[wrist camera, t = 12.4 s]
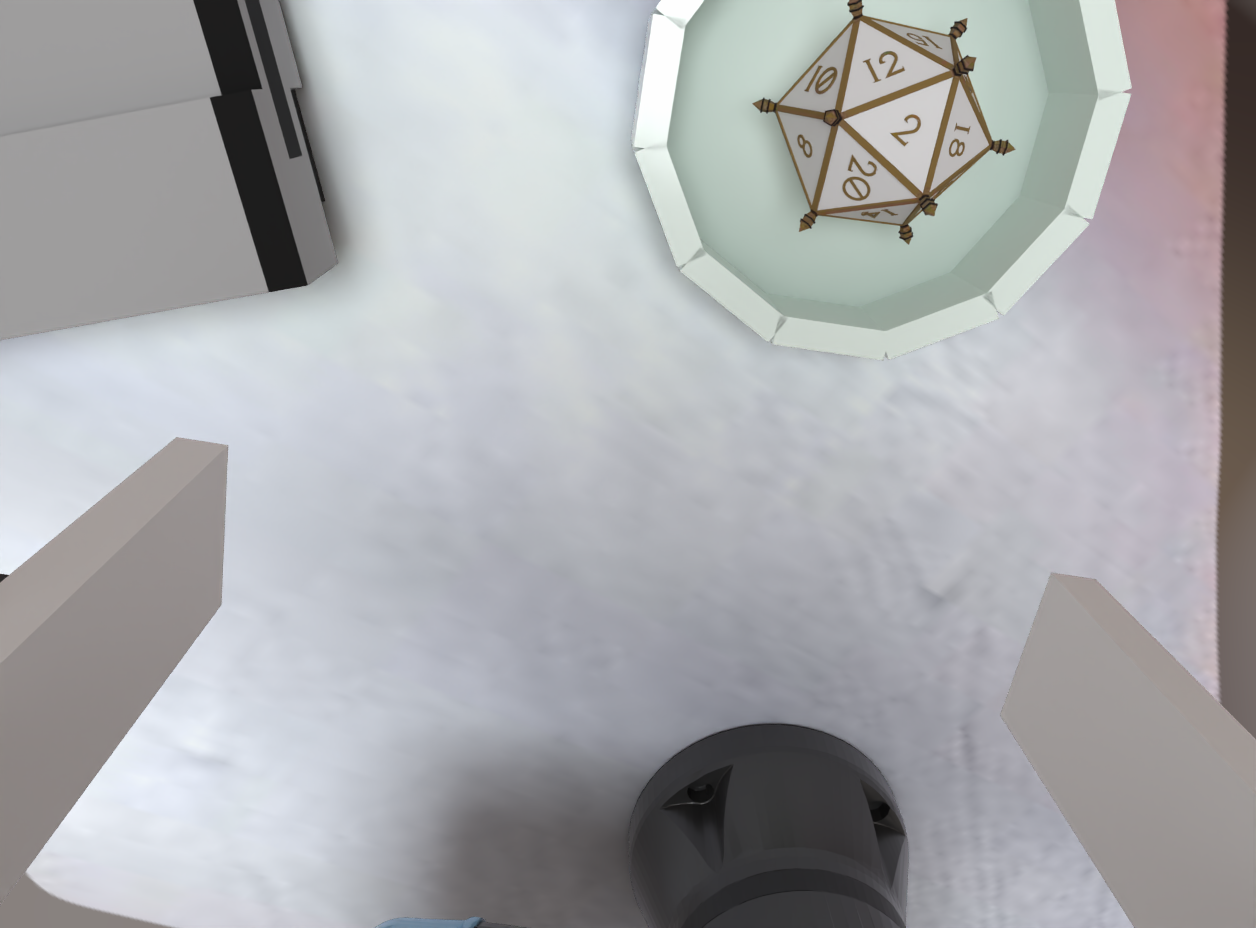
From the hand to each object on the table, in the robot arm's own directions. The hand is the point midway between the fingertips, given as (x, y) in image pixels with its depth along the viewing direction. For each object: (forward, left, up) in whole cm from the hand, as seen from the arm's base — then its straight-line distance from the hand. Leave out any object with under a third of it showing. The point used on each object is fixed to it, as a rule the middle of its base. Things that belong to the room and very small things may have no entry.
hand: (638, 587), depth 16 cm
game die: (+7, -9, -30) cm, 32 cm away
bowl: (+7, -9, -31) cm, 33 cm away
